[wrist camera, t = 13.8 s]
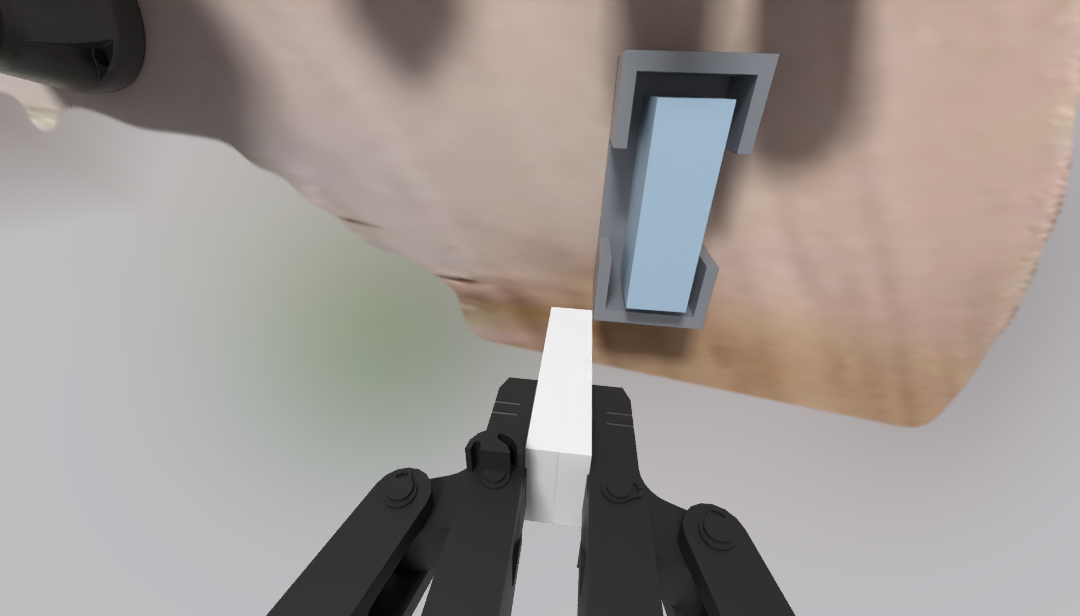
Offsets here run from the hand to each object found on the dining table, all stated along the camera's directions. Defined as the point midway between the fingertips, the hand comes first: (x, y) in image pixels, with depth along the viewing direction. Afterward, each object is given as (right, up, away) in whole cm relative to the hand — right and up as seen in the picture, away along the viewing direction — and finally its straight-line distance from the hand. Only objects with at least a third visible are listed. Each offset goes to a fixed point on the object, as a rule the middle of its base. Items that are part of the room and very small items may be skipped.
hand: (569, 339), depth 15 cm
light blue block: (+10, +12, +21) cm, 26 cm away
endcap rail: (+10, +12, +22) cm, 27 cm away
